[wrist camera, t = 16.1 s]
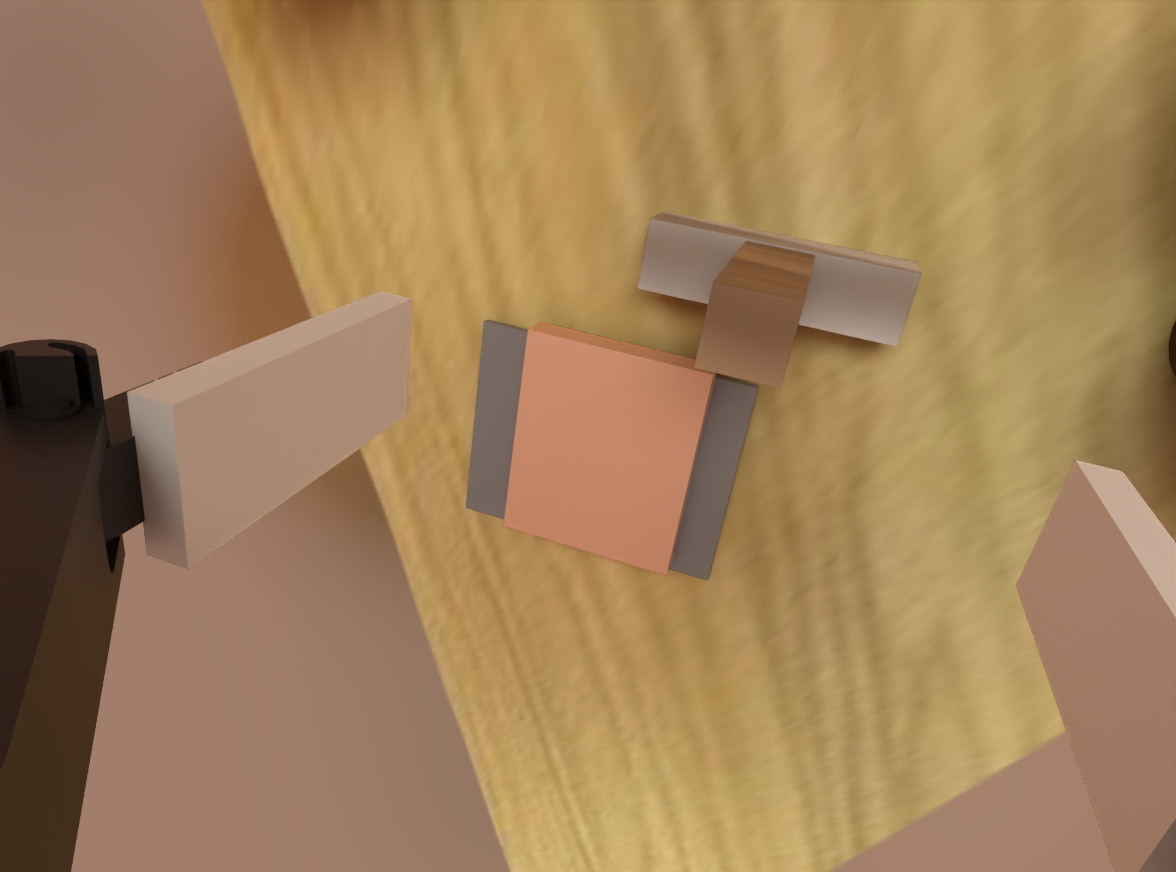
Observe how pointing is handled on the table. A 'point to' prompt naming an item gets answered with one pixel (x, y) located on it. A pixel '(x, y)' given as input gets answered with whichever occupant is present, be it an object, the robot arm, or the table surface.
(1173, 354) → the coffee mug
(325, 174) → the table surface
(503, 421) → the mat
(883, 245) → the table surface
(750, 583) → the table surface
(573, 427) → the tile
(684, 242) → the two-tone t block
